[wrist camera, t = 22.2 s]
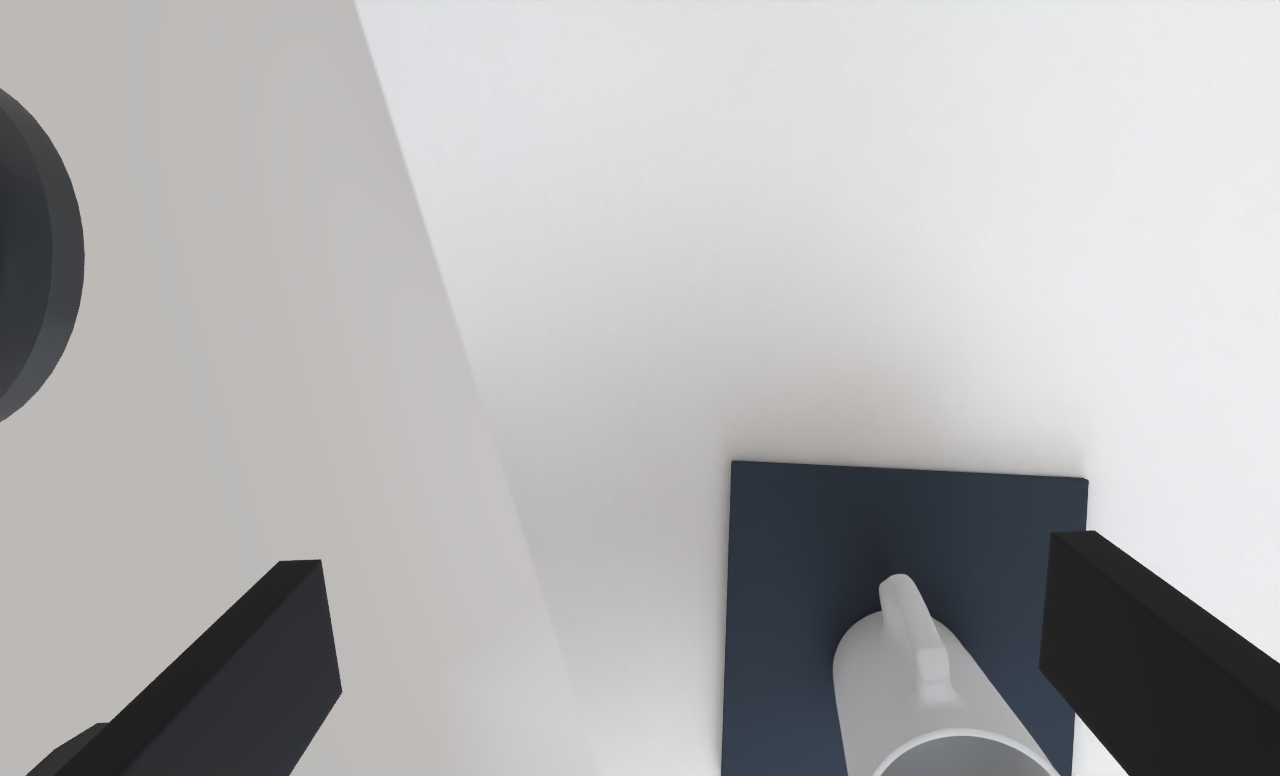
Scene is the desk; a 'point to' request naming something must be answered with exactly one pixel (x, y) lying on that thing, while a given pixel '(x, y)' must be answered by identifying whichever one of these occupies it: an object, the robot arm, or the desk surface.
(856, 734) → the mug
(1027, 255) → the desk surface
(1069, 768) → the mat
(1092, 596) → the robot arm
